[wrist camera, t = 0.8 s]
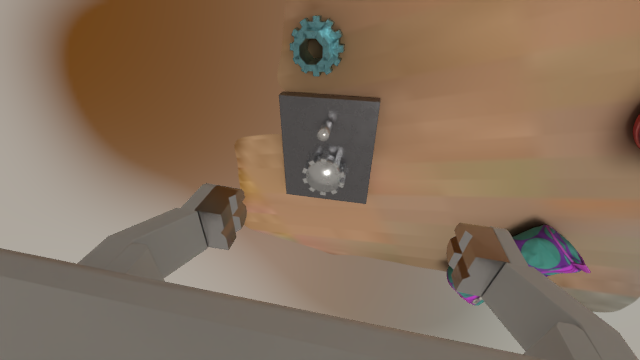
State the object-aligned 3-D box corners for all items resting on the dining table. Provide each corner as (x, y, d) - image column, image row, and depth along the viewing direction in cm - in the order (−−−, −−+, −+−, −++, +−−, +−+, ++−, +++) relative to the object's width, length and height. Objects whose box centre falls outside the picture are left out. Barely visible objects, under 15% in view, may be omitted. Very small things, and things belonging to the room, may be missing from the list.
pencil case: (467, 279, 61) (479, 320, 53) (441, 258, 59) (450, 298, 51) (568, 236, 49) (602, 281, 42) (540, 209, 47) (571, 251, 40)
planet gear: (291, 14, 38) (280, 16, 34) (346, 16, 36) (341, 18, 32) (294, 72, 42) (284, 80, 38) (342, 75, 41) (338, 83, 37)
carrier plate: (282, 91, 44) (270, 103, 39) (380, 98, 42) (379, 111, 37) (289, 188, 56) (280, 206, 51) (366, 197, 53) (364, 217, 48)
